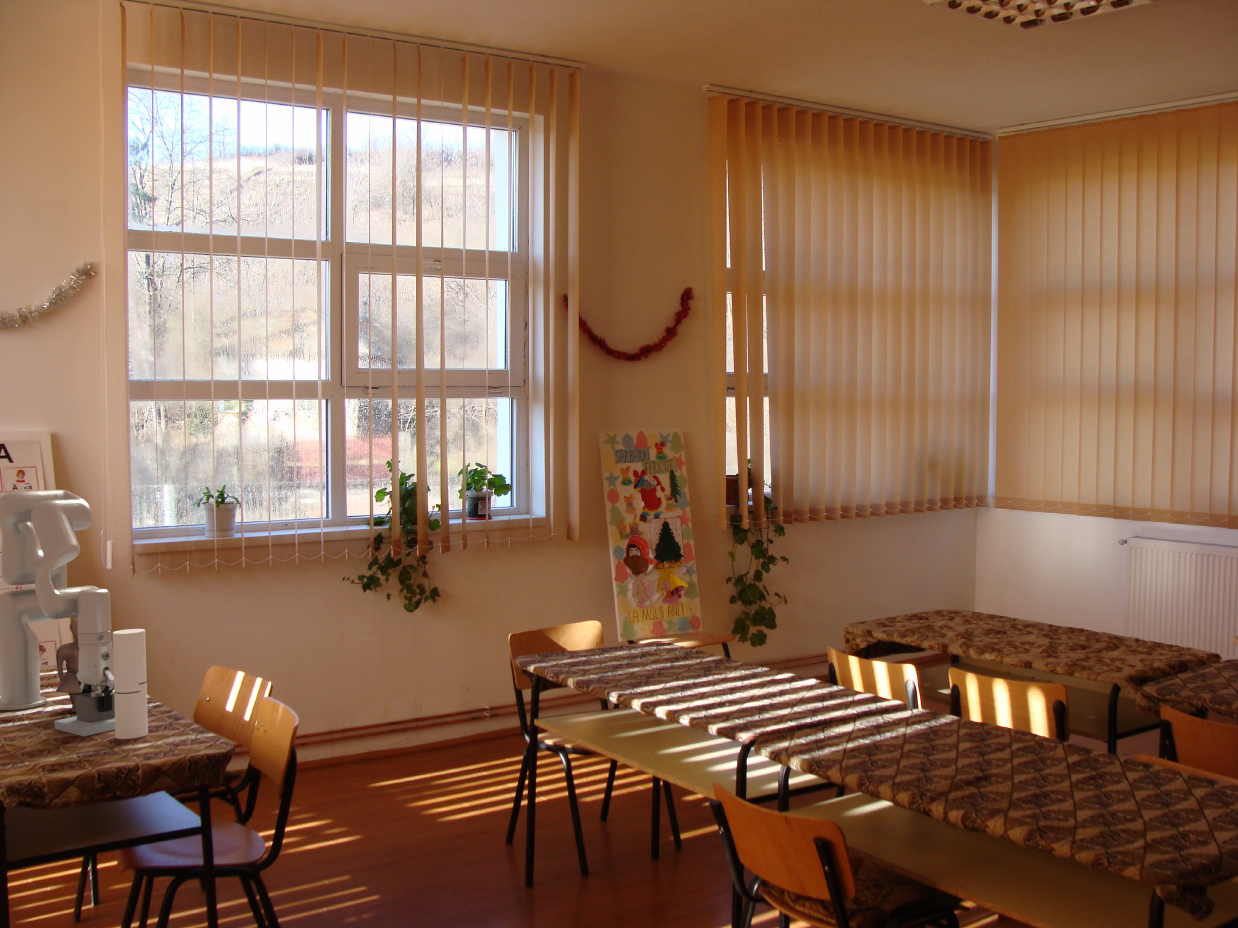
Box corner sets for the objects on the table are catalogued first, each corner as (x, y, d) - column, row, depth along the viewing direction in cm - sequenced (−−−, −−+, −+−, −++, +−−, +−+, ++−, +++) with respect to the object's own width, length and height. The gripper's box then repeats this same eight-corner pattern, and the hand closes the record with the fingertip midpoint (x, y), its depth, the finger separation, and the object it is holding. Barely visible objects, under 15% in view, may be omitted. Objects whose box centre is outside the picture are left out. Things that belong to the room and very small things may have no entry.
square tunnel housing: (102, 713, 271) (102, 689, 271) (116, 717, 267) (115, 692, 267) (76, 719, 266) (76, 694, 266) (90, 722, 262) (89, 697, 262)
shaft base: (54, 728, 265) (53, 694, 265) (109, 716, 276) (108, 684, 276) (83, 736, 257) (82, 701, 257) (139, 723, 268) (138, 689, 268)
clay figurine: (55, 716, 279) (53, 620, 279) (57, 708, 288) (54, 615, 288) (110, 709, 284) (108, 616, 284) (110, 702, 293) (108, 611, 293)
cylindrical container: (154, 732, 259) (151, 629, 259) (132, 739, 253) (129, 634, 252) (131, 730, 262) (128, 628, 262) (108, 737, 255) (105, 633, 255)
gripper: (128, 639, 264) (129, 710, 265) (91, 633, 275) (93, 702, 275) (98, 644, 258) (100, 716, 258) (62, 638, 269) (63, 707, 269)
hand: (96, 708), depth 267 cm, fingers open, 7 cm apart
